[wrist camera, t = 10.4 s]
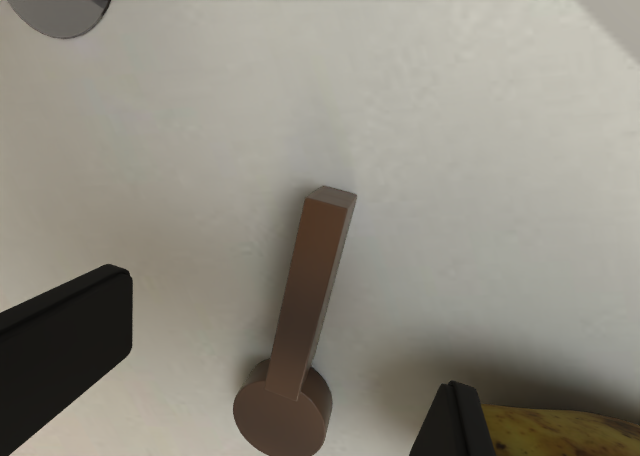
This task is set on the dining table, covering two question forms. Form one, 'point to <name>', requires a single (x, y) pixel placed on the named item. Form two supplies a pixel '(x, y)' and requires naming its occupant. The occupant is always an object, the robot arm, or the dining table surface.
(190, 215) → the dining table surface
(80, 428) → the dining table surface
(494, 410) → the potato
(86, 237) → the dining table surface
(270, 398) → the wooden spoon
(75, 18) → the wine glass
